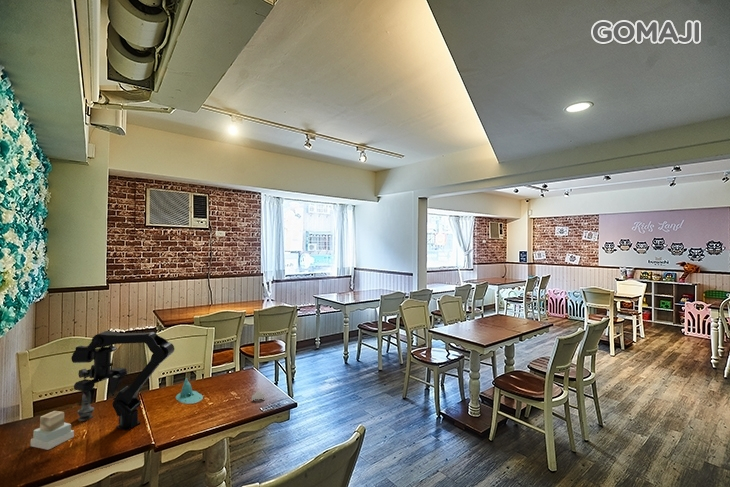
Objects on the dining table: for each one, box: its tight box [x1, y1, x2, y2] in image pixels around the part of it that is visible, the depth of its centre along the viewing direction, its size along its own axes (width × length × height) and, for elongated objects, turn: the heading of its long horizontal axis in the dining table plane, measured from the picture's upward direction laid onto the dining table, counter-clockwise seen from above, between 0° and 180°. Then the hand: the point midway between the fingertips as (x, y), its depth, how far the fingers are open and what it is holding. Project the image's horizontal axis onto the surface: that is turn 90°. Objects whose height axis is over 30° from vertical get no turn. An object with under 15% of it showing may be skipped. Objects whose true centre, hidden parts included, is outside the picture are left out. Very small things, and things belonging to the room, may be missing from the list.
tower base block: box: [30, 429, 75, 451], centre depth 133 cm, size 9×9×3 cm
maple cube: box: [39, 410, 65, 431], centre depth 133 cm, size 5×5×5 cm
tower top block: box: [32, 421, 72, 443], centre depth 133 cm, size 8×8×3 cm
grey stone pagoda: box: [77, 393, 95, 422], centre depth 151 cm, size 6×6×12 cm
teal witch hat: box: [175, 377, 204, 405], centre depth 173 cm, size 12×20×9 cm, turn 48°
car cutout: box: [251, 391, 266, 401], centre depth 170 cm, size 15×7×4 cm, turn 105°
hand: (101, 398), depth 144 cm, fingers open, 9 cm apart
